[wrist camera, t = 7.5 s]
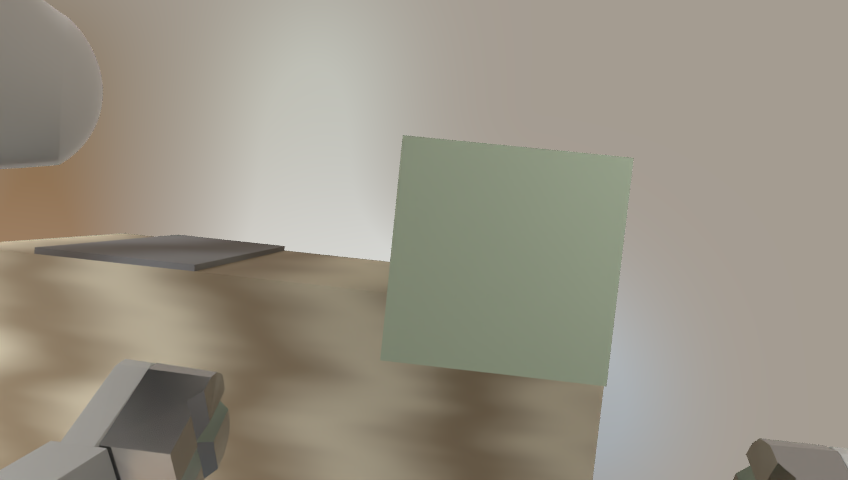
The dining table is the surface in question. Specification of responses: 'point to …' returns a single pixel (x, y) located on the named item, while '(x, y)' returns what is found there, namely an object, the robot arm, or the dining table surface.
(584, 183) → the green block
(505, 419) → the stand
